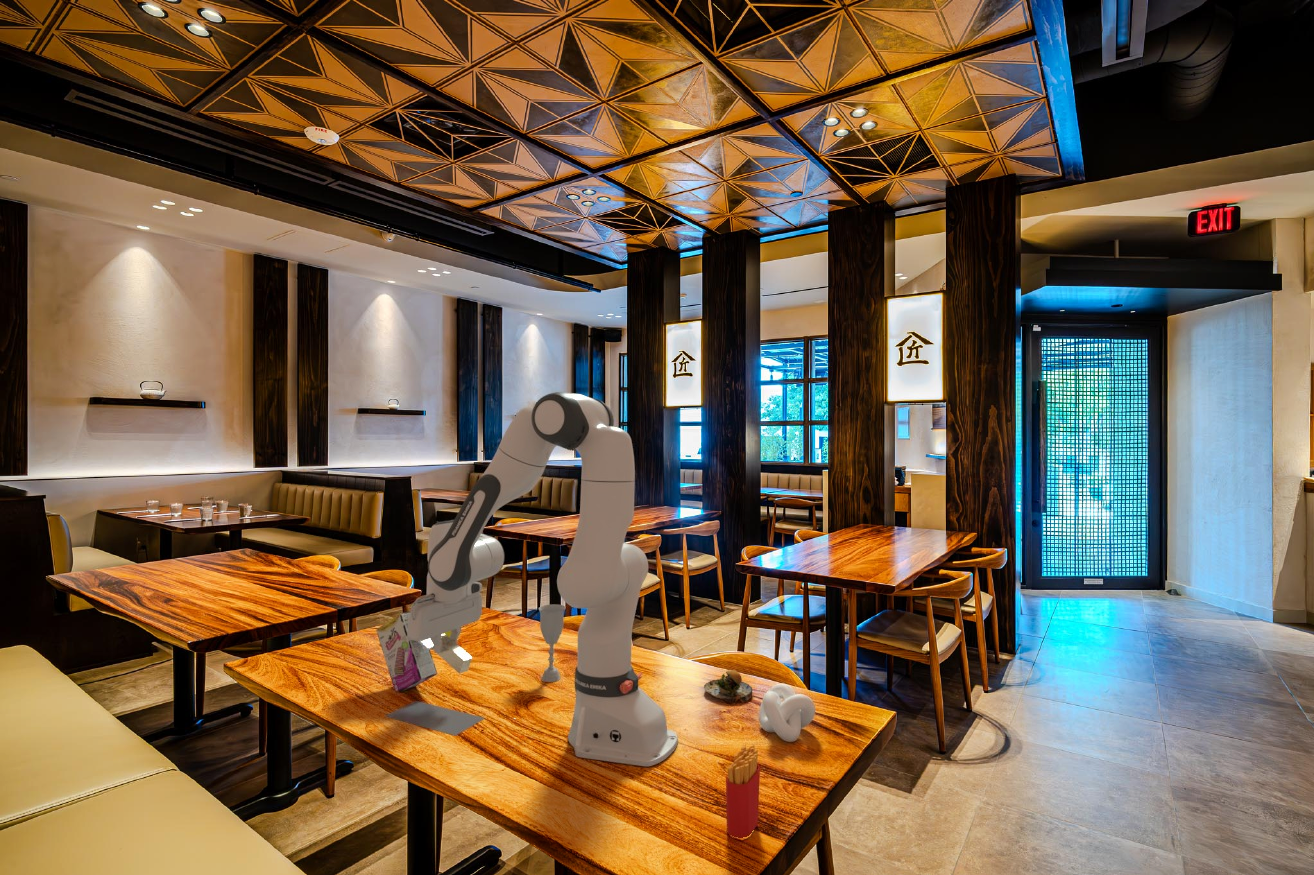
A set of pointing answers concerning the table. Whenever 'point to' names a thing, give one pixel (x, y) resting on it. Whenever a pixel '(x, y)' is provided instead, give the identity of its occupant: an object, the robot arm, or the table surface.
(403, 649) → the candy bar box
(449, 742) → the table surface
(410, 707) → the plate
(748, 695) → the burger
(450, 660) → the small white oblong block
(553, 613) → the chalice
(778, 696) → the white knot sculpture
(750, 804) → the french fries
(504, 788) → the table surface
